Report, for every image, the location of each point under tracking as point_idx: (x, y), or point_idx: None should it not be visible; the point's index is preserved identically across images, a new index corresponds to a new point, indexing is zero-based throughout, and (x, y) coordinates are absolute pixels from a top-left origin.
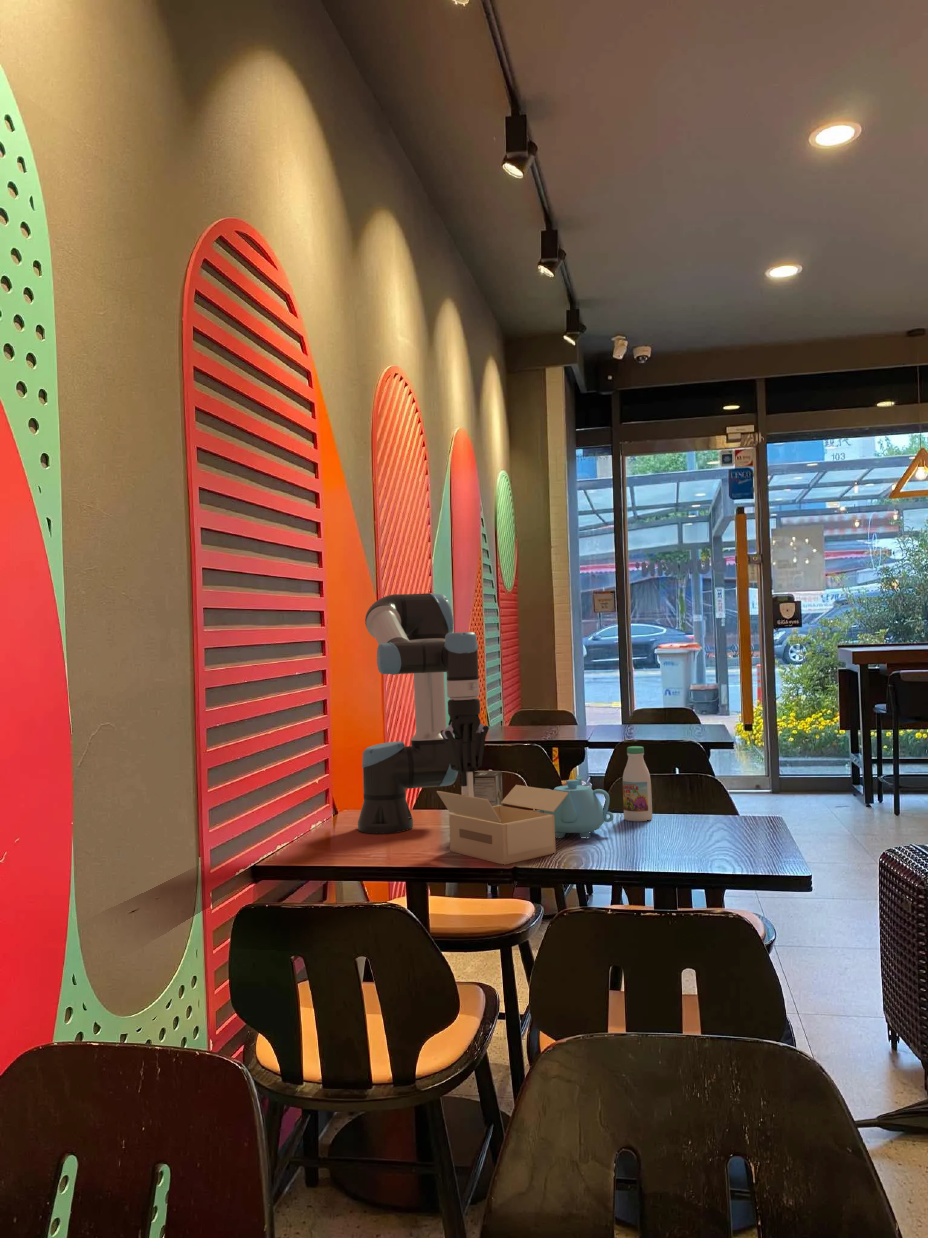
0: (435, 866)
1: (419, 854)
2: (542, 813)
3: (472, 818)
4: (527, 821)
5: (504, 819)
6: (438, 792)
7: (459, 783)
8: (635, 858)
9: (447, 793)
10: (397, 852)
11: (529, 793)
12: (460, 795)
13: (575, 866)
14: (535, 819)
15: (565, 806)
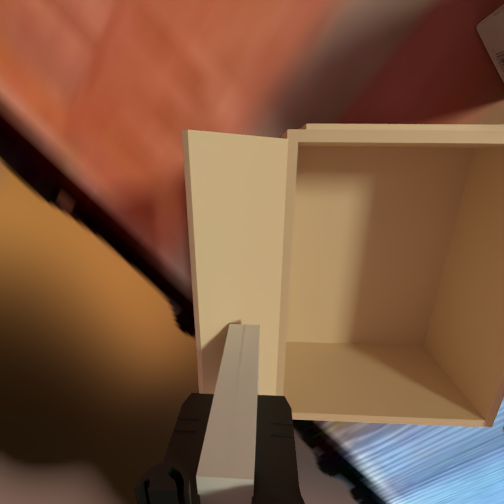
0: (152, 247)
1: (192, 96)
2: (496, 390)
3: (281, 285)
4: (369, 421)
5: None
6: (187, 150)
7: (181, 410)
8: (468, 463)
9: (190, 254)
10: (154, 6)
11: None
12: (197, 362)
13: (352, 432)
14: (404, 423)
15: None
